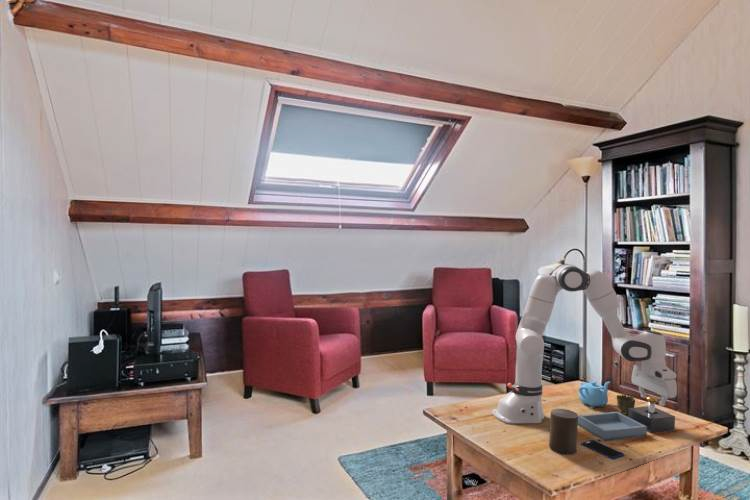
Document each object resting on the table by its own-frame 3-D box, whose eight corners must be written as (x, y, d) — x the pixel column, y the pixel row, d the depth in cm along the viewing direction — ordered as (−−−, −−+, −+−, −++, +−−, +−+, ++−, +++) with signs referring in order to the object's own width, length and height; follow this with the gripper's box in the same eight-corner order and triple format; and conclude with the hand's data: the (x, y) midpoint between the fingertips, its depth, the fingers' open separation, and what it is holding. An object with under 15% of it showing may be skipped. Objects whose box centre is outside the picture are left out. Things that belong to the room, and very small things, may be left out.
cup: (637, 418, 206) (637, 400, 206) (619, 417, 208) (619, 399, 207) (631, 412, 214) (632, 395, 213) (614, 410, 215) (614, 393, 215)
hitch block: (650, 433, 191) (651, 418, 191) (628, 421, 203) (628, 408, 202) (674, 430, 194) (675, 416, 194) (650, 419, 206) (651, 405, 205)
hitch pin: (650, 428, 196) (651, 399, 195) (643, 424, 200) (644, 396, 199) (658, 427, 197) (659, 399, 196) (650, 423, 201) (651, 395, 200)
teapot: (576, 406, 221) (577, 383, 220) (581, 396, 233) (581, 374, 232) (606, 412, 214) (606, 389, 213) (609, 401, 226) (610, 379, 225)
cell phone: (592, 441, 184) (592, 439, 184) (625, 456, 172) (625, 454, 172) (579, 445, 180) (579, 443, 180) (612, 460, 168) (613, 458, 168)
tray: (604, 441, 183) (604, 431, 183) (577, 424, 199) (577, 415, 199) (646, 436, 188) (646, 426, 188) (616, 420, 204) (617, 411, 203)
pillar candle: (563, 456, 170) (564, 416, 169) (543, 445, 179) (545, 406, 178) (582, 452, 174) (584, 412, 173) (562, 441, 183) (564, 403, 182)
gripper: (628, 362, 207) (627, 393, 207) (667, 376, 187) (666, 410, 187) (639, 361, 208) (639, 392, 209) (680, 375, 188) (679, 409, 189)
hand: (652, 401), depth 198 cm, fingers open, 8 cm apart
